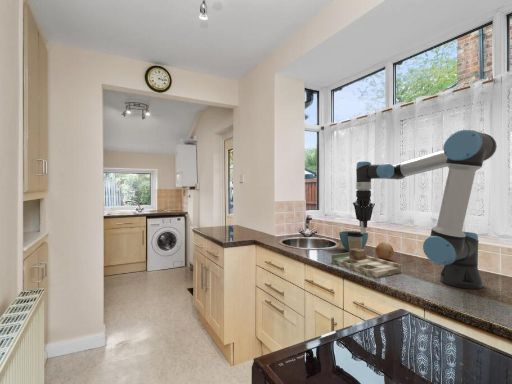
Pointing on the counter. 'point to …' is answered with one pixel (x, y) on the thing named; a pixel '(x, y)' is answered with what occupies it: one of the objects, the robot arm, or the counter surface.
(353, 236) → the coffee cup
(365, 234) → the plant pot
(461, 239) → the robot arm
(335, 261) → the compartment tray
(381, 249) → the onion
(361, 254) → the block
